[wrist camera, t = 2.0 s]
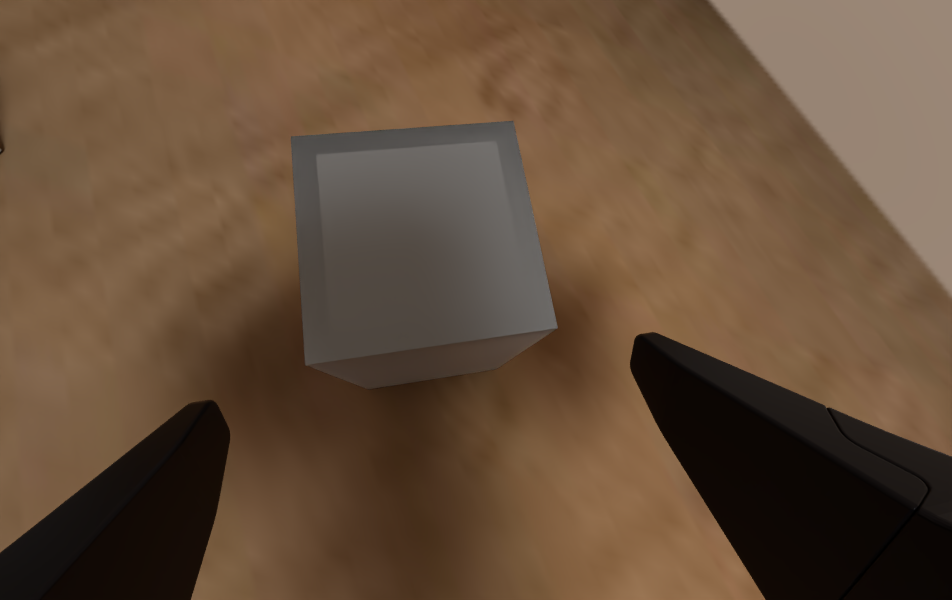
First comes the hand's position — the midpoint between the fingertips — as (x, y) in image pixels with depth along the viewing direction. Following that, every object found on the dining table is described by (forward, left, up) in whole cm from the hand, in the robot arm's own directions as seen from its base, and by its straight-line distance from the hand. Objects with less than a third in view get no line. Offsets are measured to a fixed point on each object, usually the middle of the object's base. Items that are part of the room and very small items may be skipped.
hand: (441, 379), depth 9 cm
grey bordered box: (+3, -2, -11) cm, 11 cm away
